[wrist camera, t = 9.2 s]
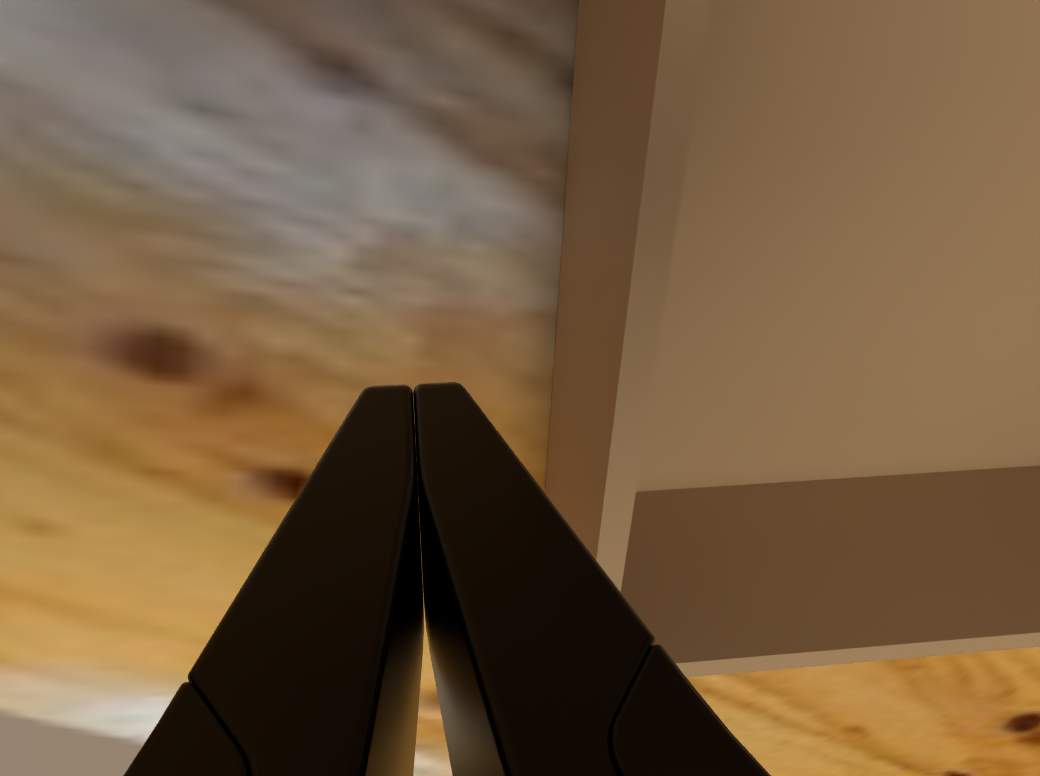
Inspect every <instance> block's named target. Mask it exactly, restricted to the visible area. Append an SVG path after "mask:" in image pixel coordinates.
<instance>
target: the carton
mask: <svg viewBox="0 0 1040 776" xmlns="http://www.w3.org/2000/svg"><path fill="white" fill-rule="evenodd" d="M545 494H546V495H547V497H548V498H549V499H550V500H551V502H552V503H553V504H554V506H555V507H556V508H557V510H558V511H559V512H560V514H561V515H562V516H563V518H564V519H565V520H566V521H567V523H568V524H569V525H570V527H571V528H572V529H573V531H574V532H575V533H576V535H577V536H578V537H579V538H580V540H581V541H582V542H583V544H584V545H585V546H586V548H587V549H588V550H589V552H590V553H591V554H592V555H593V557H594V558H595V559H596V561H597V562H598V563H599V565H600V566H601V567H602V569H603V570H604V571H605V572H606V574H607V575H608V576H609V578H610V579H611V580H612V582H613V583H614V584H615V586H616V587H617V588H618V589H619V591H620V592H621V593H622V595H623V596H624V597H625V599H626V600H627V601H628V603H629V604H630V605H631V606H632V608H633V609H634V610H635V612H636V613H637V614H638V616H639V617H640V618H641V620H642V621H643V622H644V623H645V625H646V626H647V627H648V629H649V630H650V631H651V633H652V634H653V635H654V637H655V644H660V645H662V646H663V648H664V649H665V650H666V652H667V653H668V654H669V656H670V657H671V658H672V660H673V661H674V662H675V663H676V665H677V666H678V667H679V669H680V670H681V671H682V673H683V674H684V675H685V677H697V676H708V675H720V674H731V673H743V672H754V671H766V670H778V669H789V668H801V667H812V666H824V665H835V664H847V663H858V662H870V661H881V660H893V659H904V658H916V657H927V656H939V655H950V654H962V653H973V652H985V651H996V650H1008V649H1019V648H1031V647H1040V0H579V3H578V18H577V32H576V47H575V62H574V76H573V91H572V106H571V120H570V135H569V149H568V164H567V179H566V193H565V208H564V223H563V237H562V252H561V266H560V281H559V296H558V310H557V325H556V340H555V354H554V369H553V383H552V398H551V413H550V427H549V442H548V457H547V471H546V486H545Z"/></svg>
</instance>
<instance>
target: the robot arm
mask: <svg viewBox="0 0 1040 776" xmlns="http://www.w3.org/2000/svg"><path fill="white" fill-rule="evenodd" d="M413 396H414V406H413ZM414 417H415V424H414ZM415 437H416V443H415ZM416 458H417V461H416ZM417 477H418V481H417ZM418 497H419V502H418ZM419 516H420V522H419ZM420 535H421V543H420ZM421 554H422V563H421ZM422 573H423V584H422ZM423 592H424V608H425V620H426V629H427V636H428V643H429V649H430V655H431V661H432V666H433V671H434V677H435V682H436V688H437V693H438V698H439V704H440V709H441V714H442V720H443V725H444V731H445V736H446V741H447V747H448V752H449V758H450V763H451V768H452V774H453V776H771V775H770V774H769V773H768V772H767V771H766V770H765V769H764V768H763V767H762V766H761V765H760V763H759V762H758V761H757V760H756V759H755V758H754V757H753V756H752V755H751V754H750V753H749V752H748V750H747V749H746V748H745V747H744V746H743V745H742V744H741V743H740V742H739V741H738V740H737V739H736V737H735V736H734V735H733V734H732V733H731V732H730V731H729V730H728V728H727V727H726V726H725V725H724V723H723V722H722V721H721V720H720V719H719V717H718V716H717V715H716V714H715V712H714V711H713V710H712V709H711V707H710V706H709V705H708V704H707V703H706V701H705V700H704V699H703V698H702V696H701V695H700V694H699V693H698V692H697V690H696V689H695V688H694V687H693V685H692V684H691V683H690V682H689V681H688V679H687V678H686V677H685V675H684V674H683V673H682V671H681V670H680V669H679V667H678V666H677V665H676V663H675V662H674V661H673V660H672V658H671V657H670V656H669V654H668V653H667V652H666V650H665V649H664V648H663V646H662V645H660V644H655V637H654V635H653V634H652V633H651V631H650V630H649V629H648V627H647V626H646V625H645V623H644V622H643V621H642V620H641V618H640V617H639V616H638V614H637V613H636V612H635V610H634V609H633V608H632V606H631V605H630V604H629V603H628V601H627V600H626V599H625V597H624V596H623V595H622V593H621V592H620V591H619V589H618V588H617V587H616V586H615V584H614V583H613V582H612V580H611V579H610V578H609V576H608V575H607V574H606V572H605V571H604V570H603V569H602V567H601V566H600V565H599V563H598V562H597V561H596V559H595V558H594V557H593V555H592V554H591V553H590V552H589V550H588V549H587V548H586V546H585V545H584V544H583V542H582V541H581V540H580V538H579V537H578V536H577V535H576V533H575V532H574V531H573V529H572V528H571V527H570V525H569V524H568V523H567V521H566V520H565V519H564V518H563V516H562V515H561V514H560V512H559V511H558V510H557V508H556V507H555V506H554V504H553V503H552V502H551V500H550V499H549V498H548V497H547V495H546V494H545V493H544V491H543V490H542V489H541V487H540V486H539V485H538V483H537V482H536V481H535V480H534V478H533V477H532V476H531V474H530V473H529V472H528V470H527V469H526V468H525V466H524V465H523V464H522V463H521V461H520V460H519V459H518V457H517V456H516V455H515V453H514V452H513V451H512V449H511V448H510V447H509V446H508V444H507V443H506V442H505V440H504V439H503V438H502V436H501V435H500V434H499V432H498V431H497V430H496V429H495V427H494V426H493V425H492V423H491V422H490V421H489V419H488V418H487V417H486V415H485V414H484V413H483V412H482V410H481V409H480V408H479V406H478V405H477V404H476V402H475V401H474V400H473V398H472V397H471V396H470V394H469V393H468V392H467V391H466V389H465V388H464V387H463V386H462V385H461V384H459V383H455V382H448V383H428V384H419V385H417V386H416V387H415V389H414V392H412V389H411V388H410V387H409V386H407V385H388V386H371V387H367V388H365V389H364V390H363V391H362V393H361V394H360V395H359V397H358V399H357V400H356V402H355V404H354V405H353V407H352V408H351V410H350V412H349V413H348V415H347V417H346V418H345V420H344V421H343V423H342V425H341V426H340V428H339V430H338V431H337V433H336V434H335V436H334V438H333V439H332V441H331V443H330V444H329V446H328V448H327V449H326V451H325V452H324V454H323V456H322V457H321V459H320V461H319V462H318V464H317V465H316V467H315V469H314V470H313V472H312V474H311V475H310V477H309V478H308V480H307V482H306V483H305V485H304V487H303V488H302V490H301V491H300V493H299V495H298V496H297V498H296V500H295V501H294V503H293V504H292V506H291V508H290V509H289V511H288V513H287V514H286V516H285V518H284V519H283V521H282V522H281V524H280V526H279V527H278V529H277V531H276V532H275V534H274V535H273V537H272V539H271V540H270V542H269V544H268V545H267V547H266V548H265V550H264V552H263V553H262V555H261V557H260V558H259V560H258V561H257V563H256V565H255V566H254V568H253V570H252V571H251V573H250V575H249V576H248V578H247V579H246V581H245V583H244V584H243V586H242V588H241V589H240V591H239V592H238V594H237V596H236V597H235V599H234V601H233V602H232V604H231V605H230V607H229V609H228V610H227V612H226V614H225V615H224V617H223V618H222V620H221V622H220V623H219V625H218V627H217V628H216V630H215V631H214V633H213V635H212V636H211V638H210V640H209V641H208V643H207V645H206V646H205V648H204V649H203V651H202V653H201V654H200V656H199V658H198V659H197V661H196V662H195V664H194V666H193V667H192V669H191V671H190V672H189V674H188V680H189V682H185V683H183V684H182V685H181V686H180V688H179V689H178V691H177V692H176V694H175V696H174V697H173V699H172V701H171V702H170V704H169V706H168V707H167V709H166V710H165V712H164V714H163V715H162V717H161V719H160V720H159V722H158V724H157V725H156V727H155V728H154V730H153V731H152V733H151V734H150V736H149V737H148V739H147V740H146V742H145V743H144V745H143V747H142V748H141V750H140V751H139V753H138V754H137V756H136V757H135V759H134V760H133V762H132V763H131V765H130V766H129V768H128V769H127V771H126V772H125V774H124V775H123V776H413V769H414V757H415V744H416V731H417V719H418V706H419V693H420V680H421V668H422V655H423V635H424V608H423Z"/></svg>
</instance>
